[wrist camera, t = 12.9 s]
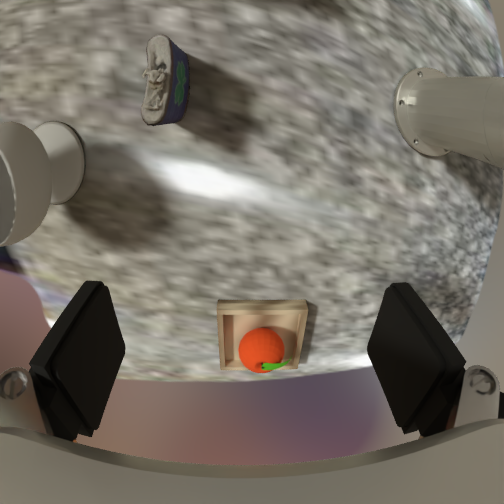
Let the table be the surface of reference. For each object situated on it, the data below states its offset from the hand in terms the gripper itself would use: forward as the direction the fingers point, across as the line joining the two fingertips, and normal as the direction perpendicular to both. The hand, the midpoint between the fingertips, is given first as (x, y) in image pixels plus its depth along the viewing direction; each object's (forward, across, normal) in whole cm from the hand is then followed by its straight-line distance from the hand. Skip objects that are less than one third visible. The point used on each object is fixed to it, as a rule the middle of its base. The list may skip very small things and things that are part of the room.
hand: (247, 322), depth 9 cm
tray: (+28, -3, +26) cm, 39 cm away
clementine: (+28, -4, +26) cm, 38 cm away
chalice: (+28, +27, -2) cm, 39 cm away
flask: (+29, +8, -10) cm, 31 cm away
